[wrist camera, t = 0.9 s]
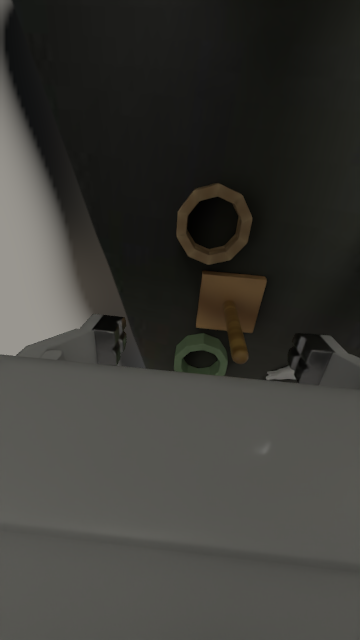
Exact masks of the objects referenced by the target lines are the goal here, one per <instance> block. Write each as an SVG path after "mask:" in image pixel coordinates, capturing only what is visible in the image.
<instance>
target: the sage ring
mask: <svg viewBox="0 0 360 640" xmlns="http://www.w3.org/2000/svg"><path fill="white" fill-rule="evenodd" d="M199 350H205V351H207V352H210V353H213V354H215V355H216V357H217V358H218V361H216V362H215V363H214V364H213V365H211V366H210V367H205V368H196V367H193V366H190V365H188V364H187V363H186V362H185V360H184V359H183V357H185V356H186V355H187V354H188V353H189V352H192V351H199ZM227 364H228V358H227V352H226V349H225V348H224V346H223V345H222V343H221V341H220V340H219V339H218V338H215V337H212V336H210V335H207V334H204V333H201V334H195V335H189V336H186V337H185V338H184V339H183V340H182V341H181V342H180V343H179V344H178V345H177V346H176V352H175V361H174V370H175V371H176V372H185V373H196V374H206V375H216V376H224V375H225V373H226V369H227Z"/></svg>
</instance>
